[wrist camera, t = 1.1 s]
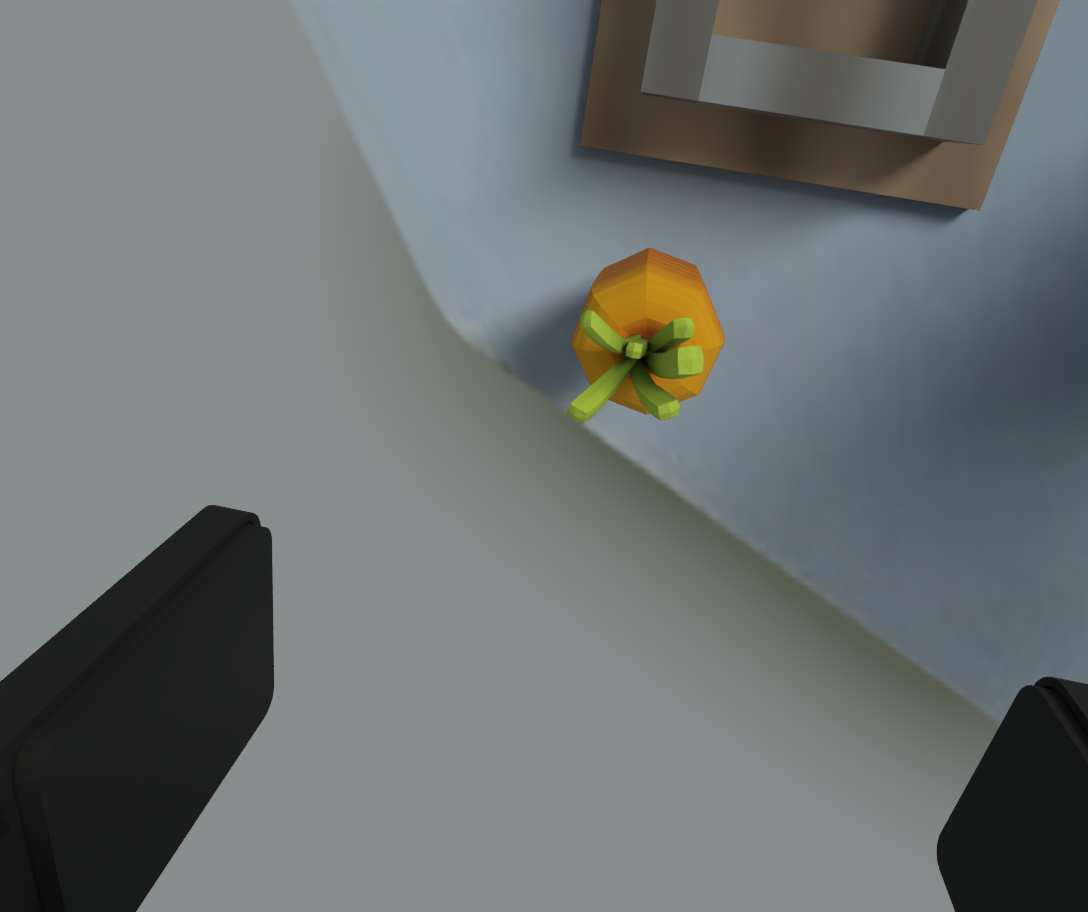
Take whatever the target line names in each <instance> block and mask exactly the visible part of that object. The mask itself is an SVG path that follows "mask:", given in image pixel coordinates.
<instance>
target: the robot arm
mask: <svg viewBox="0 0 1088 912" xmlns="http://www.w3.org/2000/svg"><path fill="white" fill-rule="evenodd" d="M272 588H273V585H272V536H271V532H270V530H269V529H268V528H267V527H261V524H260V520H259V518H258V516H257V515H256V514H254V513H250V512H246V511H241V510H236V509H231V508H226V507H221V506H216V505H209V506H207V507H205V508H204V509H202V510H201V511H200V512H199V513H198V514H196V515H195V516H194V517H193V518H192V519H191V520H190V521H188V522H187V523H186V524H185V525H184V526H182V527H181V528H180V529H179V530H178V531H176V532H175V533H174V534H173V535H172V536H171V537H170V538H168V539H167V540H166V541H165V542H164V543H162V544H161V545H160V546H159V547H158V548H157V549H155V550H154V551H153V552H152V553H151V554H149V555H148V556H147V557H146V558H145V559H144V560H142V561H141V562H140V563H139V564H138V565H137V566H135V567H134V568H133V569H132V570H131V571H130V572H128V573H127V574H126V575H125V576H124V577H123V578H121V579H120V580H119V581H118V582H117V583H115V584H114V585H113V586H112V587H111V588H110V589H108V590H107V591H106V592H105V593H104V594H103V595H102V596H100V597H99V598H98V599H97V600H96V601H94V602H93V603H92V604H91V605H90V606H89V607H87V608H86V609H85V610H84V611H83V612H81V613H80V614H79V615H78V616H77V617H76V618H74V619H73V620H72V621H71V622H70V623H69V624H67V625H66V626H65V627H64V628H63V629H62V630H61V631H59V632H58V633H57V634H56V635H55V636H54V637H52V638H51V639H50V640H49V641H47V643H45V644H44V645H43V646H42V647H40V648H39V649H38V650H37V651H36V652H35V653H33V654H32V655H31V656H30V657H29V658H28V659H26V660H25V661H24V662H23V663H22V664H21V665H19V666H18V667H17V668H16V669H15V670H14V671H12V672H11V673H10V674H9V675H8V676H7V677H5V678H4V679H3V680H2V681H1V682H0V912H136V911H137V909H138V908H139V906H140V905H141V903H142V902H143V900H144V899H145V897H146V896H147V894H148V893H149V891H150V890H151V888H152V887H153V885H154V884H155V882H156V881H157V879H158V878H159V876H160V874H161V873H162V872H163V870H164V869H165V867H166V866H167V864H168V863H169V861H170V859H171V858H172V856H173V855H174V853H175V852H176V850H177V849H178V847H179V846H180V844H181V843H182V841H183V839H184V838H185V837H186V835H187V834H188V832H189V831H190V829H191V828H192V826H193V825H194V823H195V822H196V820H197V819H198V817H199V815H200V814H201V813H202V811H203V810H204V808H205V807H206V805H207V803H208V802H209V800H210V799H211V797H212V796H213V794H214V793H215V791H216V790H217V788H218V787H219V785H220V784H221V782H222V781H223V779H224V778H225V776H226V775H227V773H228V771H229V770H230V769H231V767H232V766H233V764H234V763H235V761H236V759H237V758H238V757H239V755H240V754H241V752H242V751H243V749H244V747H245V746H246V745H247V743H248V741H249V740H250V738H251V737H252V735H253V734H254V732H255V731H256V729H257V728H258V726H259V725H260V723H261V722H262V720H263V719H264V717H265V715H266V713H267V711H268V709H269V707H270V704H271V701H272V697H273V691H274V657H273V656H274V655H273V589H272ZM937 861H938V865H939V869H940V872H941V875H942V877H943V880H944V883H945V885H946V888H947V891H948V894H949V896H950V899H951V901H952V904H953V907H954V910H955V912H1088V684H1084V683H1079V682H1074V681H1069V680H1064V679H1059V678H1055V677H1043V678H1042V679H1040V680H1038V681H1037V682H1036V683H1035V685H1034V686H1032V685H1029V686H1025V687H1024V688H1022V689H1021V690H1020V691H1019V693H1018V694H1017V696H1016V698H1015V700H1014V701H1013V703H1012V705H1011V707H1010V709H1009V710H1008V712H1007V714H1006V716H1005V718H1004V719H1003V721H1002V723H1001V725H1000V727H999V729H998V730H997V732H996V734H995V736H994V738H993V739H992V741H991V743H990V745H989V747H988V749H987V750H986V752H985V754H984V756H983V757H982V760H981V761H980V763H979V765H978V766H977V768H976V770H975V772H974V774H973V776H972V777H971V779H970V781H969V783H968V785H967V786H966V788H965V790H964V792H963V794H962V795H961V797H960V799H959V801H958V803H957V804H956V806H955V808H954V810H953V812H952V814H951V815H950V817H949V819H948V821H947V823H946V824H945V826H944V828H943V830H942V832H941V833H940V836H939V839H938V843H937Z"/></svg>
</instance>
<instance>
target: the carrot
mask: <svg viewBox="0 0 1088 912" xmlns="http://www.w3.org/2000/svg"><path fill="white" fill-rule="evenodd" d="M724 342H725V336H724V334H723V331H722V328H721V326H720V323H719V320H718V318H717V315H716V313H715V310H714V308H713V305H712V302H711V300H710V297H709V295H708V292H707V290H706V287H705V285H704V282H703V279H702V277H701V274H700V272H699V271H698V269H697V267H696V266H695V265H693V264H690V263H688V262H685V261H683V260H680V259H677V258H675V257H672V256H670V255H667V254H665V253H662V252H659V251H657V250H654V249H652V248H648V249H645V250H643V251H641V252H639V253H637V254H634V255H632V256H630V257H628V258H626V259H623V260H621V261H619V262H617V263H615V264H612V265H610V266H608V267H606V268H604V269H603V270H602V271H601V273H600V274H599V275H598V276H597V278H596V280H595V282H594V283H593V285H592V287H591V290H590V292H589V295H588V298H587V300H586V303H585V305H584V308H583V311H582V313H581V316H580V319H579V321H578V324H577V327H576V329H575V332H574V334H573V337H572V340H571V344H572V346H573V348H574V351H575V353H576V355H577V357H578V359H579V361H580V363H581V366H582V368H583V370H584V372H585V374H586V376H587V378H588V381H589V383H590V385H591V386H590V387H589V388H587V389H586V390H585V391H584V392H583V393H581V394H580V395H579V396H578V397H577V398H576V399H575V400H574V401H573V402H572V403H571V404H570V406H569V407H568V409H567V415H569V416H570V417H571V418H572V419H573V420H575V421H578V422H580V423H584V422H586V421H587V420H589V419H590V418H591V417H592V416H594V415H595V414H596V413H597V412H598V411H599V410H600V409H601V408H602V407H603V406H604V404H605V403H606V402H607V401H608V400H610V401H613V402H615V403H618V404H620V405H623V406H625V407H628V408H631V409H633V410H636V411H638V412H641V413H644V414H649V413H650V414H652V415H653V416H655V417H656V418H657V419H659V420H660V421H661V420H666V419H671V418H673V417H674V416H676V415H678V414H679V413H680V405H679V403H678V402H681V401H683V400H686V399H688V398H691V397H694V396H696V395H698V394H700V392H701V390H702V388H703V386H704V384H705V382H706V380H707V377H708V375H709V373H710V371H711V369H712V367H713V365H714V363H715V361H716V359H717V357H718V354H719V352H720V350H721V348H722V346H723V344H724Z"/></svg>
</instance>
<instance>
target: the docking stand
mask: <svg viewBox="0 0 1088 912" xmlns="http://www.w3.org/2000/svg"><path fill="white" fill-rule="evenodd" d="M1059 1H1060V0H602V1H601V8H600V15H599V21H598V28H597V35H596V41H595V48H594V54H593V61H592V68H591V74H590V81H589V88H588V94H587V101H586V107H585V114H584V121H583V127H582V134H581V141H580V146H585V147H591V148H597V149H603V150H609V151H615V152H622V153H628V154H634V155H640V156H646V157H652V158H658V159H665V160H671V161H677V162H683V163H689V164H695V165H702V166H708V167H714V168H720V169H726V170H732V171H739V172H745V173H751V174H757V175H763V176H769V177H775V178H782V179H788V180H794V181H800V182H806V183H812V184H819V185H825V186H831V187H837V188H843V189H849V190H856V191H862V192H868V193H874V194H880V195H886V196H892V197H899V198H905V199H911V200H917V201H923V202H929V203H936V204H942V205H948V206H954V207H960V208H966V209H973V210H979V211H980V209H981V206H982V203H983V201H984V198H985V196H986V193H987V190H988V188H989V185H990V182H991V180H992V177H993V175H994V172H995V169H996V167H997V164H998V161H999V159H1000V156H1001V154H1002V151H1003V148H1004V146H1005V143H1006V140H1007V138H1008V135H1009V133H1010V130H1011V127H1012V125H1013V122H1014V119H1015V117H1016V114H1017V112H1018V109H1019V106H1020V104H1021V101H1022V98H1023V96H1024V93H1025V91H1026V88H1027V85H1028V83H1029V80H1030V77H1031V75H1032V72H1033V70H1034V67H1035V64H1036V62H1037V59H1038V56H1039V54H1040V51H1041V49H1042V46H1043V43H1044V41H1045V38H1046V35H1047V33H1048V30H1049V28H1050V25H1051V22H1052V20H1053V17H1054V14H1055V12H1056V9H1057V6H1058V4H1059Z"/></svg>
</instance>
